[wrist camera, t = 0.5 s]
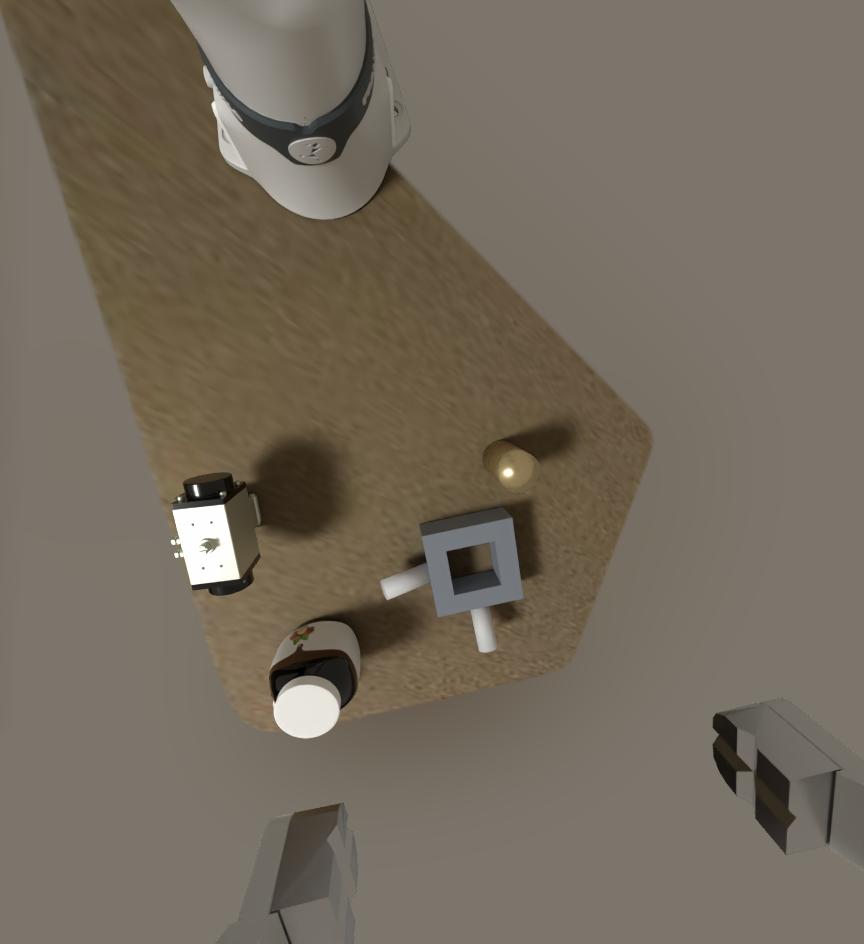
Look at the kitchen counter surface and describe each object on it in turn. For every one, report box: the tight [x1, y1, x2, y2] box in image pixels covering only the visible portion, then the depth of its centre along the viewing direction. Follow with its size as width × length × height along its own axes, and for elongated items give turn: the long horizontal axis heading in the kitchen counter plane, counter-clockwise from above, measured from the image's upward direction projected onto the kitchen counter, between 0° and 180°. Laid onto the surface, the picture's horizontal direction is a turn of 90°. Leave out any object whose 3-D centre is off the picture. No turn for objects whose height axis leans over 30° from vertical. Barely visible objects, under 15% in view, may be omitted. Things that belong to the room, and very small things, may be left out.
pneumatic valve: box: [171, 472, 262, 596], centre depth 44 cm, size 6×12×12 cm, turn 5°
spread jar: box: [269, 619, 361, 738], centre depth 50 cm, size 12×11×12 cm
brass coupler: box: [483, 440, 540, 493], centre depth 47 cm, size 4×4×8 cm
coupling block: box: [380, 507, 523, 652], centre depth 52 cm, size 17×17×6 cm
